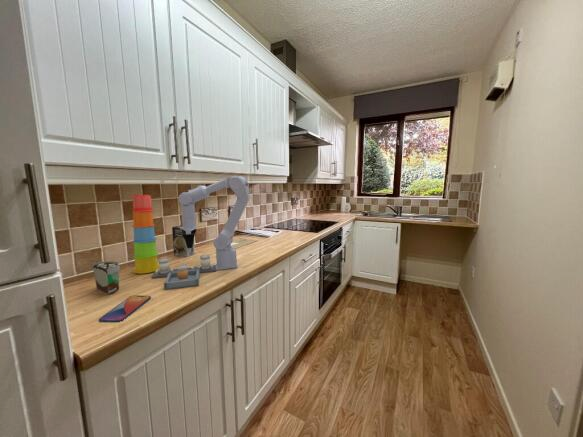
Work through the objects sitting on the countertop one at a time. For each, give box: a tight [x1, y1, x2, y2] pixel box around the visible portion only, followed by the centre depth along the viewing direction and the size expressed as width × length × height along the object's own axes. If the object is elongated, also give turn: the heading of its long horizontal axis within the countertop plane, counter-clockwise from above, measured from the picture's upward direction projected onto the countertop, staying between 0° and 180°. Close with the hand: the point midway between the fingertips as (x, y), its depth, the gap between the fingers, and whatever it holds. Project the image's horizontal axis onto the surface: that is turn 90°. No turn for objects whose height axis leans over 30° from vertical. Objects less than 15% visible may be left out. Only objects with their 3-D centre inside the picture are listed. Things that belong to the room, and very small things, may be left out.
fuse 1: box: [158, 257, 171, 274], centre depth 106 cm, size 4×4×6 cm
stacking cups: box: [131, 194, 159, 275], centre depth 109 cm, size 10×10×35 cm
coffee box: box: [171, 224, 195, 258], centre depth 134 cm, size 9×6×16 cm
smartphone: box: [98, 294, 152, 323], centre depth 78 cm, size 7×15×1 cm, turn 178°
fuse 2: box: [199, 254, 211, 270], centre depth 112 cm, size 4×4×6 cm
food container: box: [92, 260, 122, 296], centre depth 91 cm, size 12×6×10 cm, turn 59°
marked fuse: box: [176, 264, 189, 281], centre depth 99 cm, size 4×4×6 cm
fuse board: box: [150, 263, 217, 279], centre depth 109 cm, size 26×7×2 cm, turn 109°
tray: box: [163, 269, 201, 291], centre depth 99 cm, size 12×12×2 cm
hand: (190, 246), depth 116 cm, fingers open, 7 cm apart
